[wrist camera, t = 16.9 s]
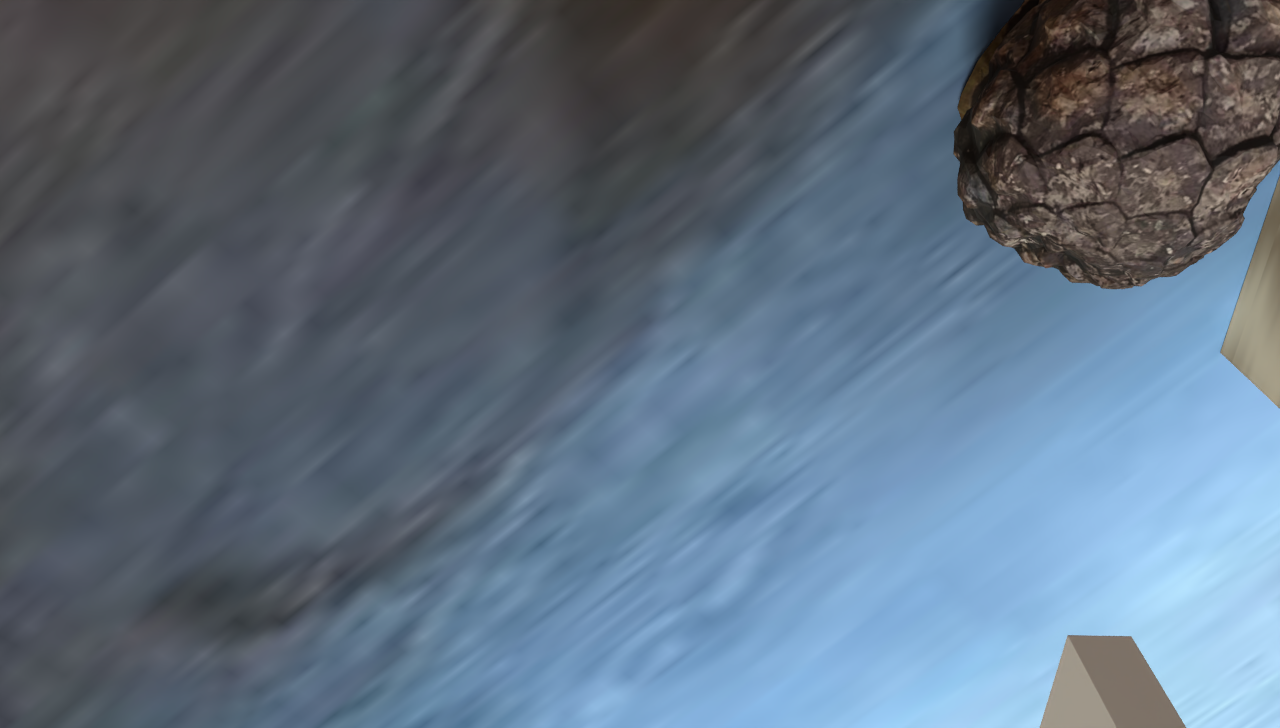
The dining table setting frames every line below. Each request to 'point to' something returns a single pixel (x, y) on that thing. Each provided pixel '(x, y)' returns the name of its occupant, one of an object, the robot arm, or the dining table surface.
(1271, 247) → the hole block
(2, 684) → the dining table surface
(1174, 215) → the pine cone
